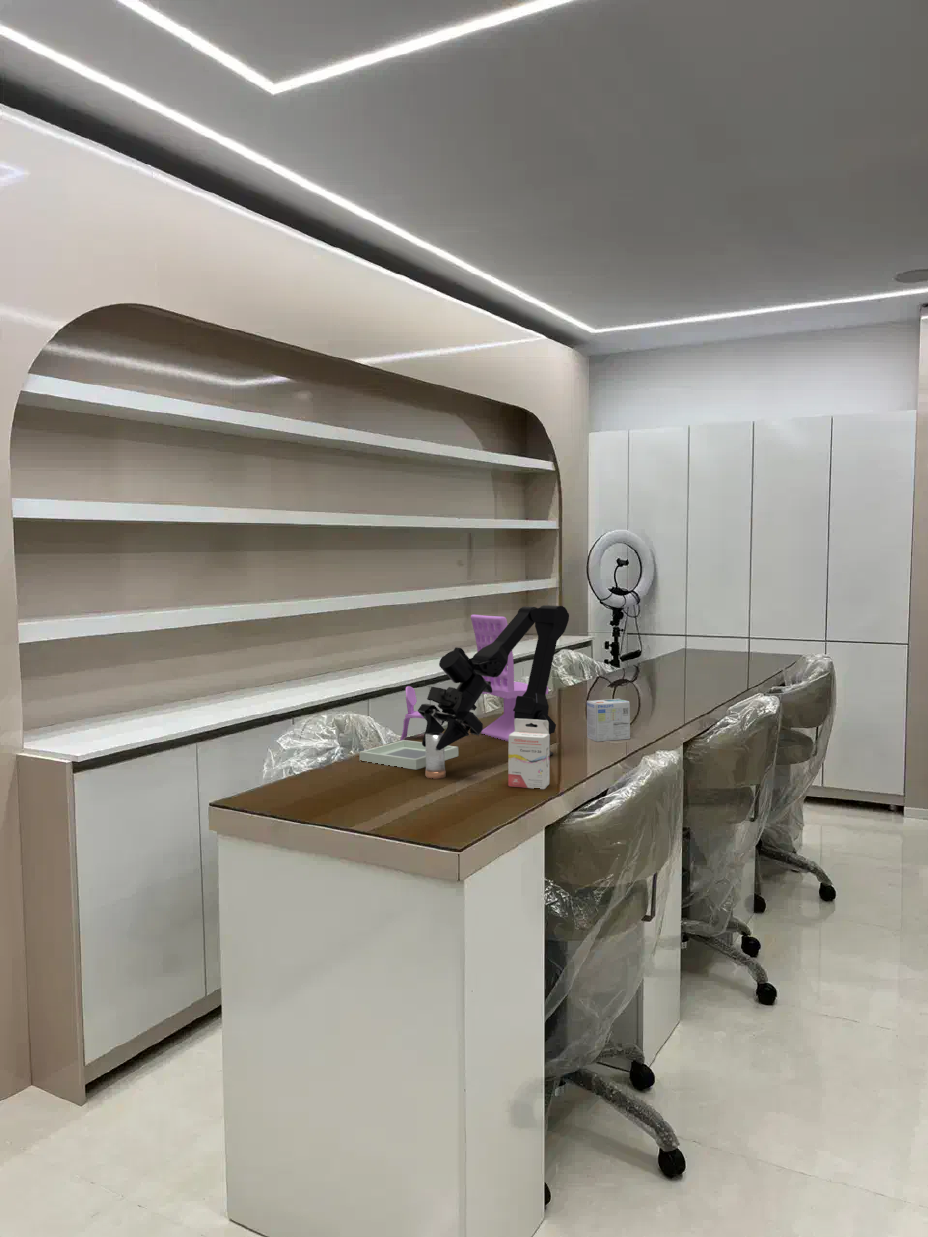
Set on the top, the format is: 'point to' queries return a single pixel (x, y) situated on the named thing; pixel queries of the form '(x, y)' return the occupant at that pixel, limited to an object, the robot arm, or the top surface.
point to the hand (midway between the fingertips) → (430, 747)
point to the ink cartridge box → (529, 754)
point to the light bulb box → (608, 720)
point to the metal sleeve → (434, 757)
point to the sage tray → (403, 754)
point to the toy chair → (410, 710)
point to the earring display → (508, 687)
